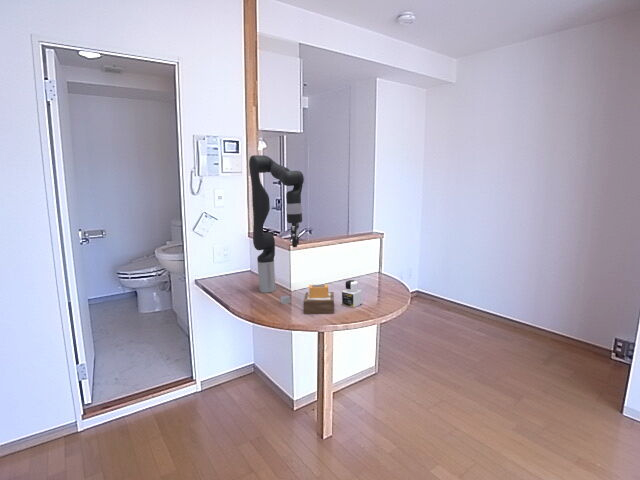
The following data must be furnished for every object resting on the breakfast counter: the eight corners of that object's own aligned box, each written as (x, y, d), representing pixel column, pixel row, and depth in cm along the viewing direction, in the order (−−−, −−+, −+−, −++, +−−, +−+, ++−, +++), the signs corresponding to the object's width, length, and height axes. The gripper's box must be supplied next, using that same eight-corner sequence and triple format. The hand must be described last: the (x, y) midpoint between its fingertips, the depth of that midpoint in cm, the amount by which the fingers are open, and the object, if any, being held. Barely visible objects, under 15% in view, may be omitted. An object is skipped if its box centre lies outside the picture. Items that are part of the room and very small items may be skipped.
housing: (328, 294, 183) (327, 283, 183) (328, 297, 178) (328, 286, 178) (309, 294, 183) (309, 284, 182) (309, 298, 178) (309, 287, 177)
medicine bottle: (341, 305, 186) (341, 281, 184) (350, 301, 191) (350, 278, 189) (353, 308, 181) (352, 284, 179) (362, 304, 186) (361, 280, 184)
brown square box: (306, 303, 189) (305, 291, 188) (333, 303, 189) (333, 291, 188) (303, 314, 175) (303, 301, 174) (333, 313, 175) (333, 300, 174)
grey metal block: (280, 302, 194) (280, 296, 194) (288, 301, 195) (288, 295, 195) (282, 304, 190) (282, 298, 190) (290, 303, 191) (289, 297, 191)
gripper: (300, 213, 174) (302, 248, 177) (303, 211, 188) (304, 242, 191) (284, 214, 175) (286, 248, 177) (288, 211, 189) (289, 243, 192)
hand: (295, 245), depth 184 cm, fingers open, 8 cm apart
